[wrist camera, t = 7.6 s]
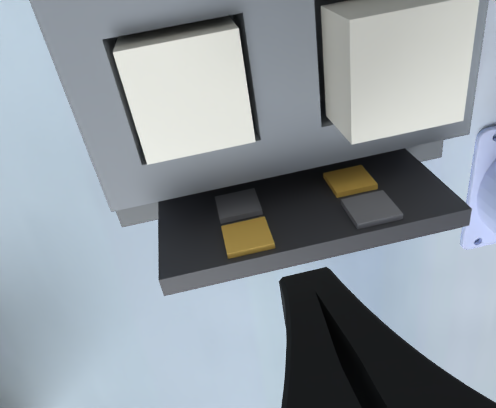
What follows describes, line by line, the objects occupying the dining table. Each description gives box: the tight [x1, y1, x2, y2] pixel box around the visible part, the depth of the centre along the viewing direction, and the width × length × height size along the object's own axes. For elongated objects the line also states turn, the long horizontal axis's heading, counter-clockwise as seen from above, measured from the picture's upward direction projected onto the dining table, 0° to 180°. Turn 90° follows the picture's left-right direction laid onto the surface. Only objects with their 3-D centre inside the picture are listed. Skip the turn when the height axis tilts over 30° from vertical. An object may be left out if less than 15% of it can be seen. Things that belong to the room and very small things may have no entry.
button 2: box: [321, 0, 479, 145], centre depth 15 cm, size 4×4×3 cm
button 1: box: [113, 15, 256, 165], centre depth 16 cm, size 4×4×3 cm
